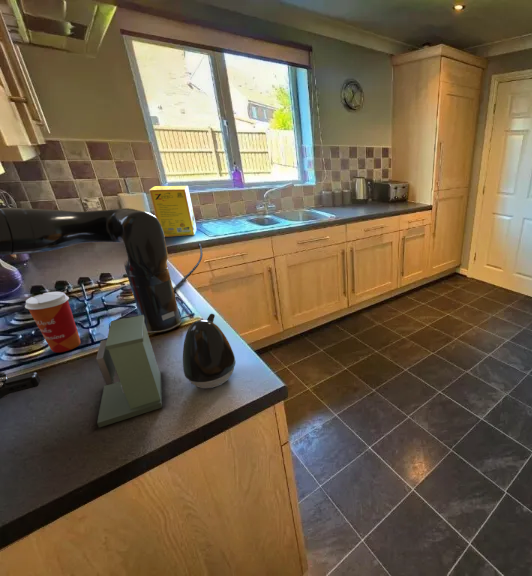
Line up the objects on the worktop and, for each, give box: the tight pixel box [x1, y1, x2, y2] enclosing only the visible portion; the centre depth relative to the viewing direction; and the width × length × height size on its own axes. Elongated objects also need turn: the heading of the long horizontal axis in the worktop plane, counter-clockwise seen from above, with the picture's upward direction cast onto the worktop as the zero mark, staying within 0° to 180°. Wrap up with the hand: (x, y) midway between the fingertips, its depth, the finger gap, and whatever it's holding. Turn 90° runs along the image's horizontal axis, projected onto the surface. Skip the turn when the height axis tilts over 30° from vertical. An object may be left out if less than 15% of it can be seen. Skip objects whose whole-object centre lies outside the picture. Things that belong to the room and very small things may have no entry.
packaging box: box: [148, 185, 197, 238], centre depth 183 cm, size 16×16×25 cm
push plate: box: [95, 339, 116, 385], centre depth 63 cm, size 7×1×6 cm, turn 33°
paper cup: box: [24, 291, 81, 353], centre depth 81 cm, size 8×8×14 cm
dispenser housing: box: [96, 315, 163, 428], centre depth 65 cm, size 12×10×16 cm
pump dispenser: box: [182, 313, 237, 389], centre depth 71 cm, size 10×10×15 cm
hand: (37, 378), depth 58 cm, fingers closed
